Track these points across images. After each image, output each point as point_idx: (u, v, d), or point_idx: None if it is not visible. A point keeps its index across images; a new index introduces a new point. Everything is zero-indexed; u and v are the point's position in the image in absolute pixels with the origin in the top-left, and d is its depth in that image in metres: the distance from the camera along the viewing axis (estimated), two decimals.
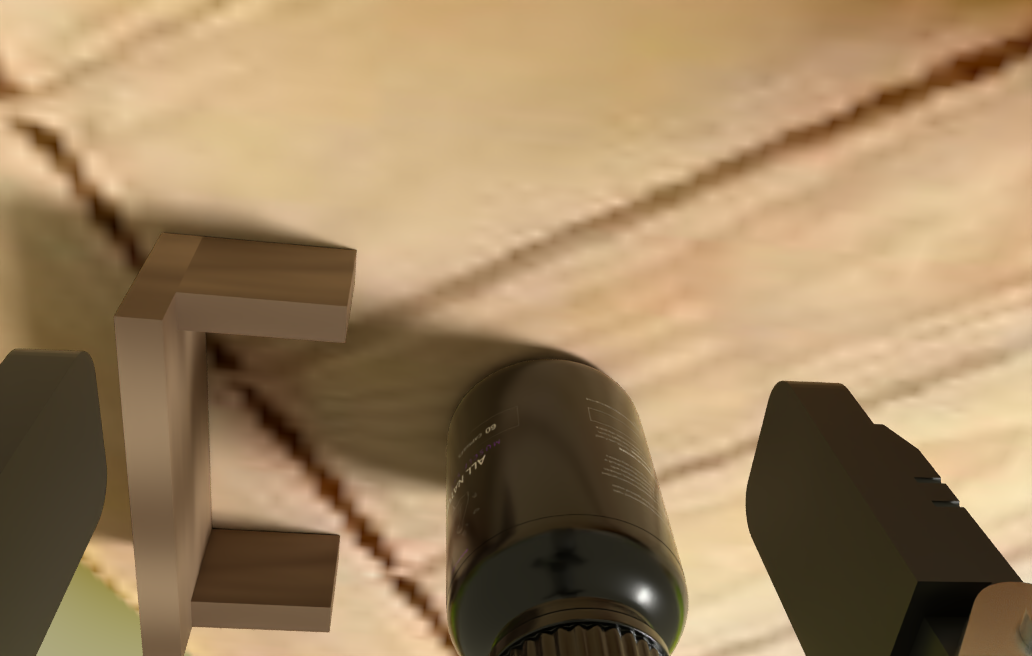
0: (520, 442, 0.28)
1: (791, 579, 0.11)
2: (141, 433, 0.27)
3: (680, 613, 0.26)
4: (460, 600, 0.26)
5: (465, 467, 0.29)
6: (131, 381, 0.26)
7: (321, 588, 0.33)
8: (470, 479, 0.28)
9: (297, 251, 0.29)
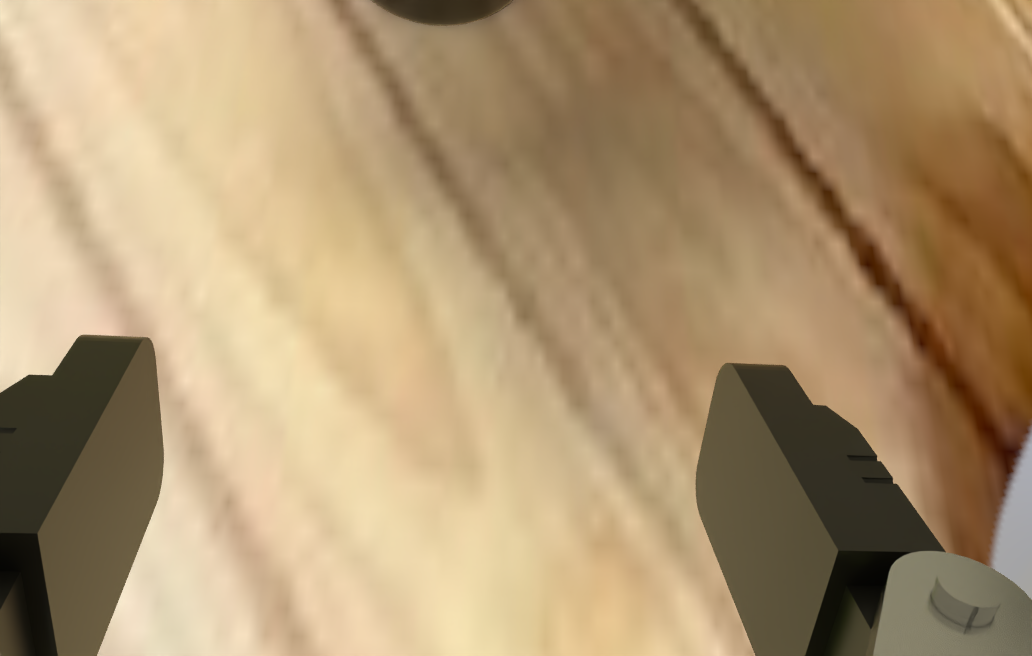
0: None
1: (733, 556, 0.11)
2: None
3: None
4: None
5: None
6: None
7: None
8: None
9: None
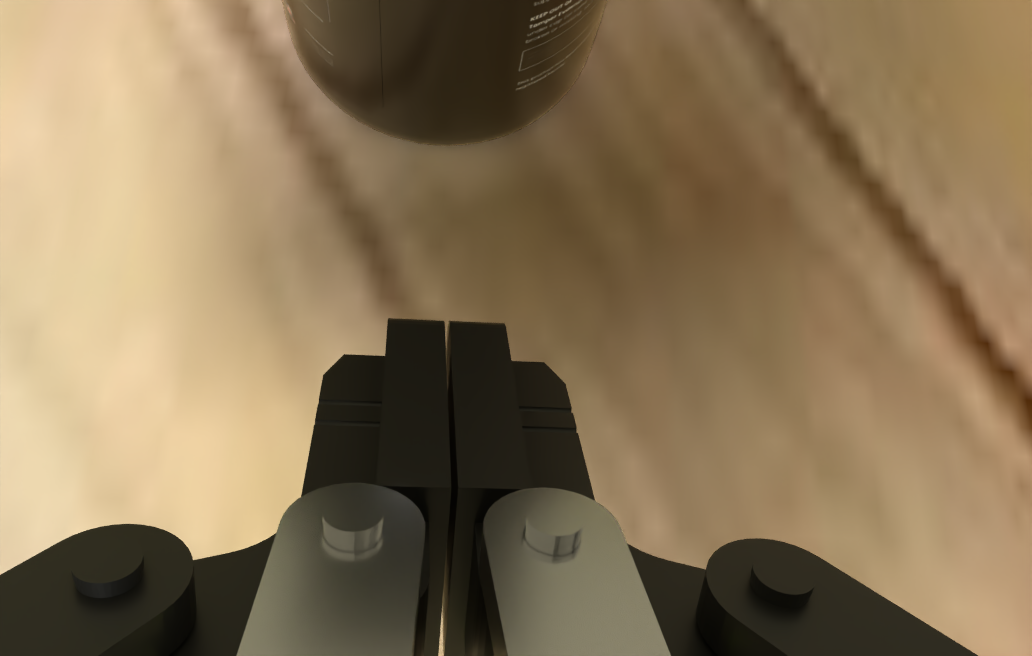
0: None
1: None
2: None
3: None
4: None
5: None
6: None
7: None
8: None
9: None
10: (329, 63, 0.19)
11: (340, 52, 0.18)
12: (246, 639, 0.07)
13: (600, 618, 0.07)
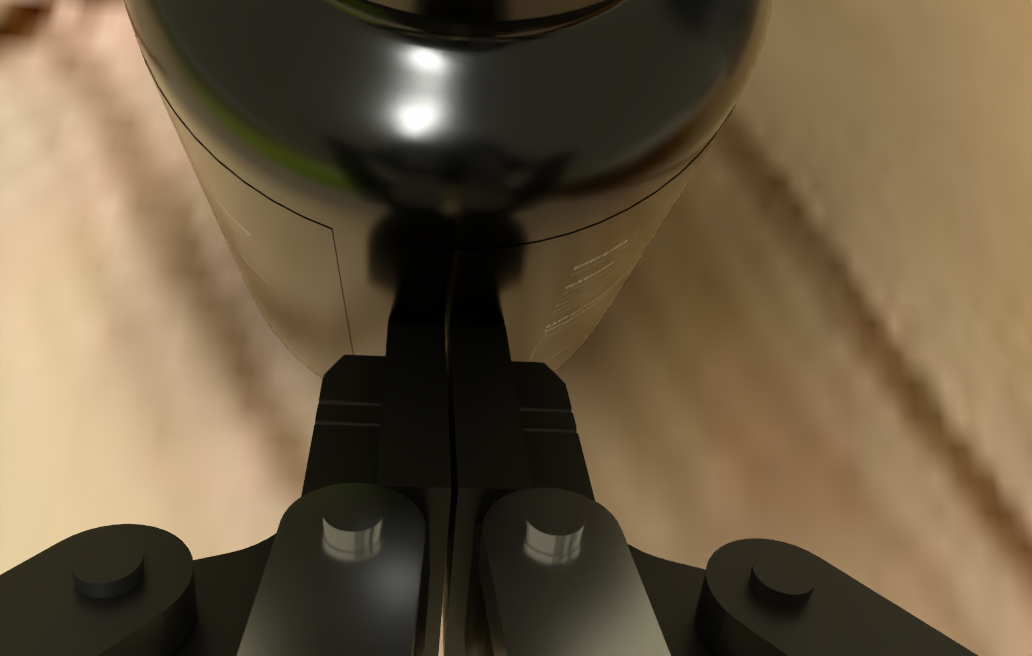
0: None
1: None
2: None
3: (566, 153, 0.09)
4: None
5: None
6: None
7: None
8: None
9: None
10: (289, 337, 0.15)
11: (301, 336, 0.14)
12: (248, 641, 0.07)
13: (600, 618, 0.07)
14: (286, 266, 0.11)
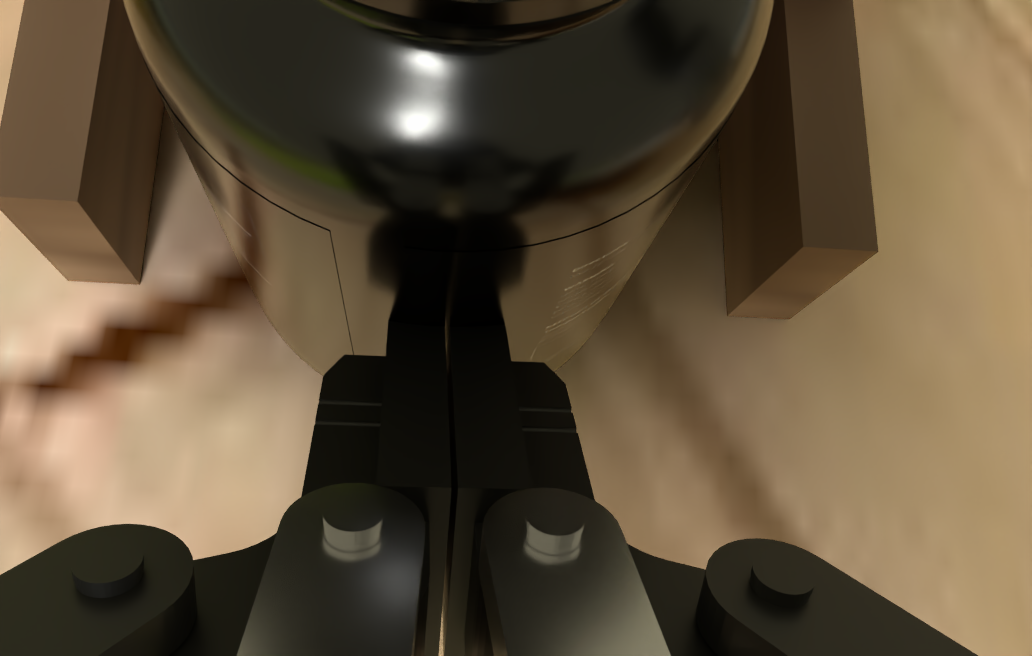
0: None
1: None
2: None
3: (563, 156, 0.08)
4: None
5: None
6: None
7: (98, 201, 0.14)
8: None
9: None
10: (290, 335, 0.15)
11: (302, 334, 0.14)
12: (248, 641, 0.07)
13: (600, 618, 0.07)
14: (285, 265, 0.11)
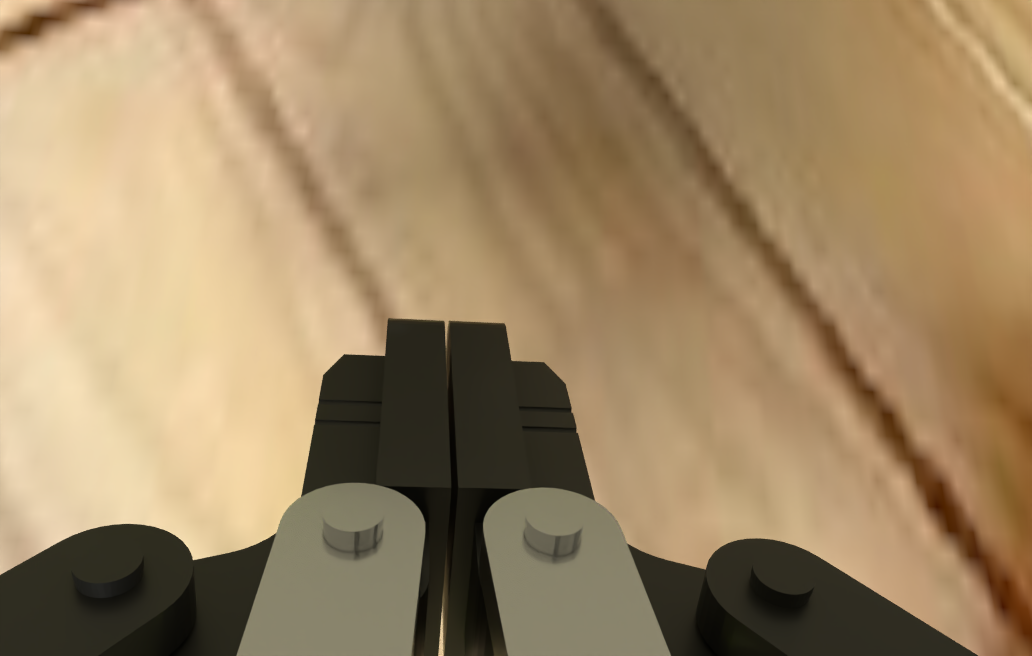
0: None
1: None
2: None
3: None
4: None
5: None
6: None
7: None
8: None
9: None
10: None
11: None
12: (248, 641, 0.07)
13: (600, 618, 0.07)
14: None
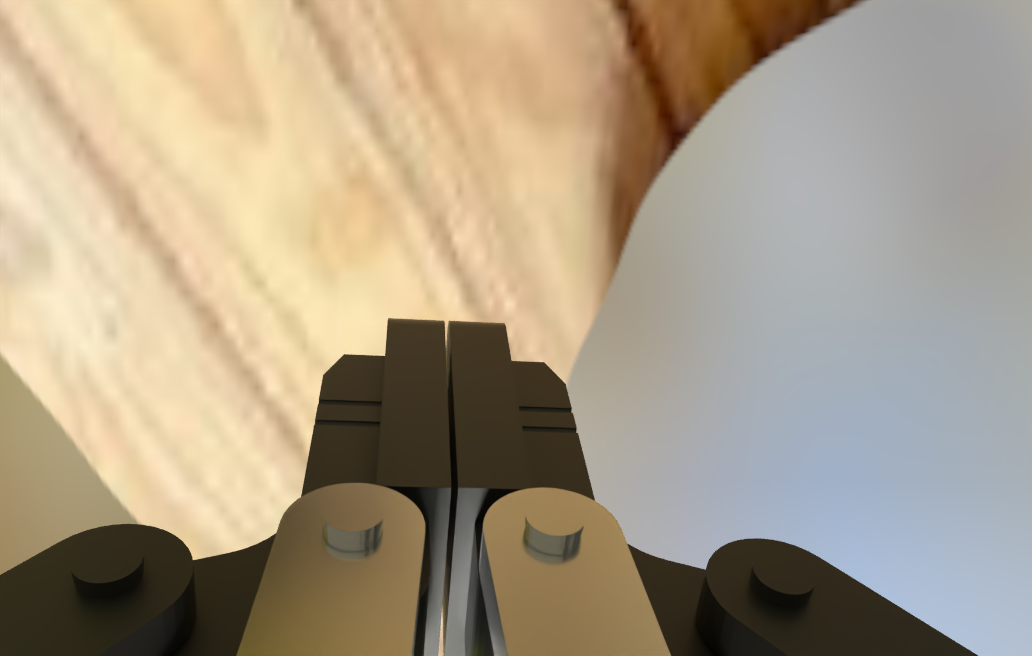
0: None
1: None
2: None
3: None
4: None
5: None
6: None
7: None
8: None
9: None
10: None
11: None
12: (248, 639, 0.07)
13: (600, 618, 0.07)
14: None
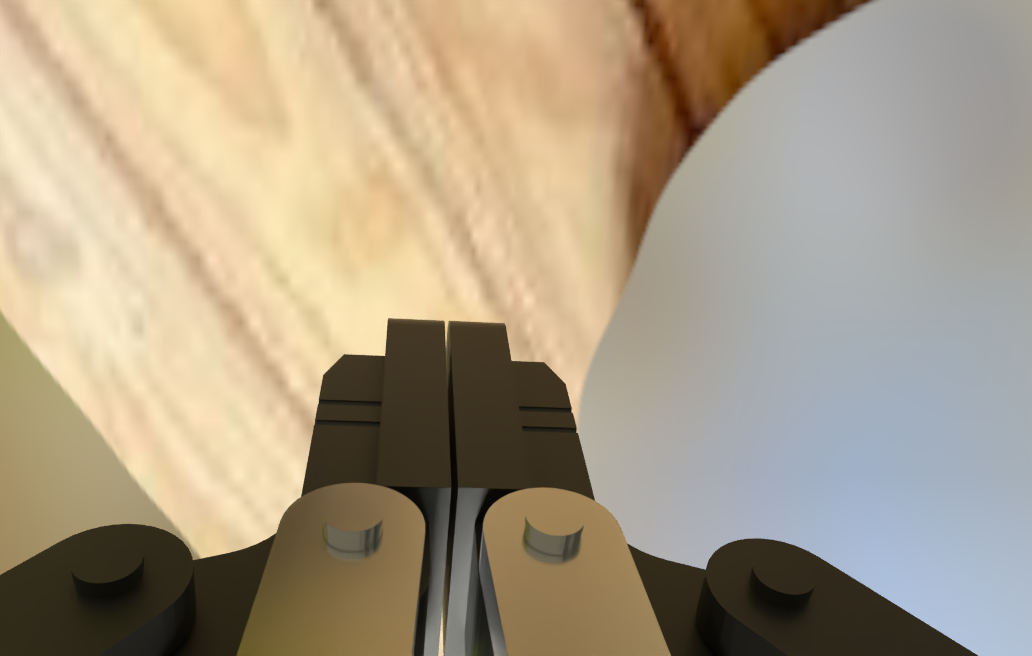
0: None
1: None
2: None
3: None
4: None
5: None
6: None
7: None
8: None
9: None
10: None
11: None
12: (248, 641, 0.07)
13: (600, 618, 0.07)
14: None
